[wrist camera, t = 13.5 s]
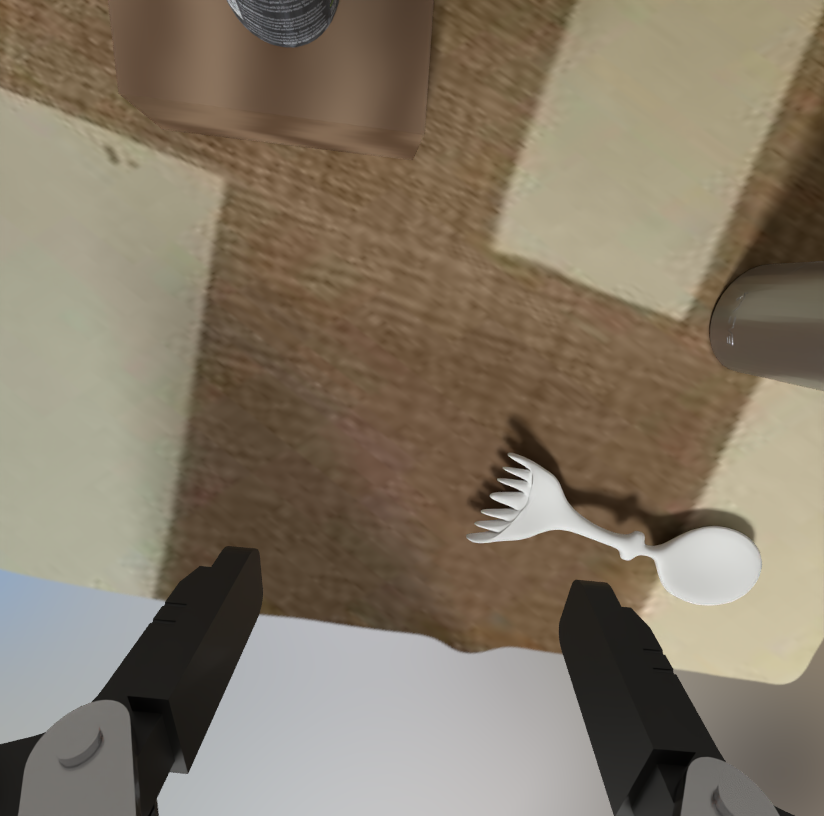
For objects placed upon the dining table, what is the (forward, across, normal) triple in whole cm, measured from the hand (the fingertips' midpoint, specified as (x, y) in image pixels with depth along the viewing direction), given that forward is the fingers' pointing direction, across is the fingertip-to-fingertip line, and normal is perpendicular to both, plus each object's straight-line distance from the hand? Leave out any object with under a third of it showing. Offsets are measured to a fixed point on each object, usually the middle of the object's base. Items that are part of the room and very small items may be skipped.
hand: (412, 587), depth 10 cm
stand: (+24, +10, -19) cm, 32 cm away
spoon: (+25, -21, +17) cm, 37 cm away
